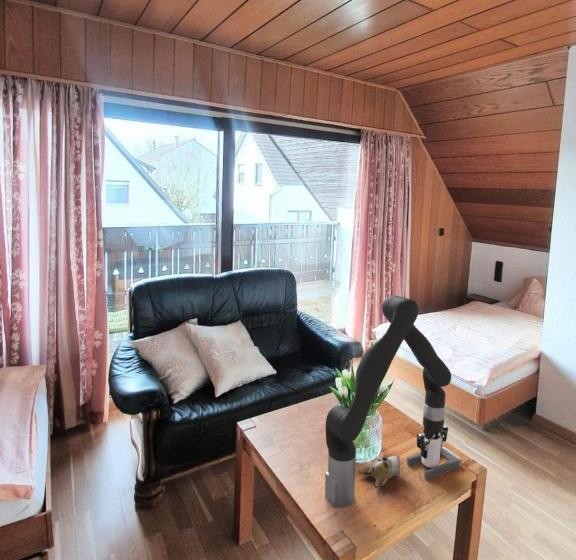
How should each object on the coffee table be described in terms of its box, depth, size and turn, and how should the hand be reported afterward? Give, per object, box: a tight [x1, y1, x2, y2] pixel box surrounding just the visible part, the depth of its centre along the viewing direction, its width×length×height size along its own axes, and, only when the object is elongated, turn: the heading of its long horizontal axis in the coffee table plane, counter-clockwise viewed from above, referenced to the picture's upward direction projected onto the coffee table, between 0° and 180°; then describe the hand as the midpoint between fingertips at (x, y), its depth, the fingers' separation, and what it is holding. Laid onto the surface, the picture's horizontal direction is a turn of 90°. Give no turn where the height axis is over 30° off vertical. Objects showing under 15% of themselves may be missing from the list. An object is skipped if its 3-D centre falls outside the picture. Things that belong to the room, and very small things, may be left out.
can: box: [421, 437, 441, 469], centre depth 164 cm, size 6×6×12 cm
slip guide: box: [406, 445, 463, 481], centre depth 166 cm, size 18×10×3 cm, turn 118°
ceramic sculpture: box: [358, 455, 401, 489], centre depth 158 cm, size 11×9×15 cm
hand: (430, 454), depth 164 cm, fingers closed on can, 6 cm apart
